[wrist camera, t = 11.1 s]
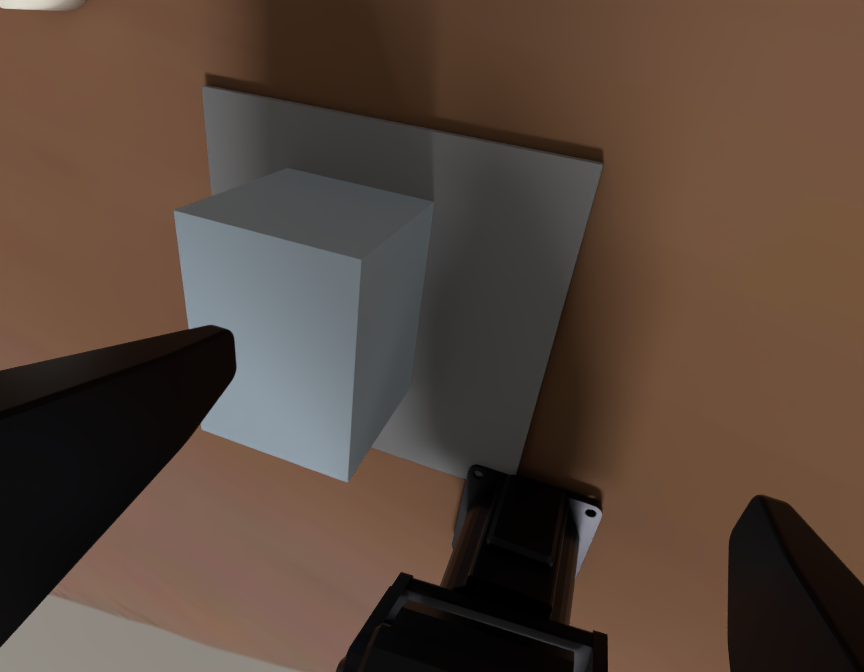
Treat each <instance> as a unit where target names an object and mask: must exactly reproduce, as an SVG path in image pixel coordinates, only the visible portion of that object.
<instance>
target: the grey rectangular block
mask: <svg viewBox="0 0 864 672" xmlns="http://www.w3.org/2000/svg"><path fill="white" fill-rule="evenodd" d="M433 207H434V202H433V201H428V200H424V199H420V198H415V197H411V196H407V195H402V194H398V193H394V192H389V191H385V190H381V189H376V188H372V187H368V186H363V185H359V184H355V183H350V182H346V181H342V180H337V179H333V178H329V177H324V176H320V175H316V174H311V173H307V172H303V171H298V170H294V169H290V168H286V169H283V170H281V171H278V172H275V173H273V174H270V175H267V176H265V177H262V178H259V179H257V180H254V181H251V182H249V183H246V184H243V185H241V186H238V187H235V188H233V189H230V190H227V191H224V192H222V193H219V194H216V195H214V196H211V197H208V198H206V199H203V200H200V201H198V202H195V203H192V204H190V205H187V206H184V207H182V208H179V209H176V210H174V216H175V224H176V232H177V240H178V248H179V256H180V263H181V271H182V279H183V287H184V295H185V303H186V311H187V318H188V326H189V329H192V328H197V327H201V326H206V325H216V326H219V327H222V328H225V329H228V330H230V331H231V332H232V333H233V335H234V339H235V351H236V364H237V369H236V373H235V376H234V378H233V380H232V382H231V383H230V384H229V386H228V387H227V388H226V390H225V391H224V392H223V394H222V395H221V397H220V398H219V399H218V401H217V402H216V403H215V405H214V406H213V407H212V409H211V410H210V411H209V413H208V414H207V416H206V417H205V418H204V420H203V421H202V422H201V428H202V430H204V431H207V432H210V433H212V434H215V435H218V436H221V437H223V438H226V439H229V440H232V441H234V442H237V443H240V444H243V445H245V446H248V447H251V448H254V449H256V450H259V451H262V452H265V453H267V454H270V455H273V456H276V457H278V458H281V459H284V460H287V461H289V462H292V463H295V464H298V465H300V466H303V467H306V468H309V469H311V470H314V471H317V472H320V473H322V474H325V475H328V476H331V477H333V478H336V479H339V480H342V481H344V482H347V483H348V481H349V480H350V478H351V477H352V475H353V474H354V472H355V471H356V469H357V468H358V466H359V465H360V463H361V462H362V460H363V459H364V457H365V456H366V454H367V453H368V451H369V449H370V448H371V446H372V445H373V443H374V442H375V440H376V439H377V437H378V436H379V434H380V433H381V431H382V430H383V428H384V427H385V425H386V424H387V422H388V421H389V419H390V418H391V416H392V415H393V413H394V412H395V410H396V409H397V407H398V406H399V404H400V403H401V401H402V400H403V398H404V397H405V395H406V393H407V392H408V390H409V389H410V384H411V377H412V369H413V361H414V353H415V346H416V338H417V330H418V323H419V315H420V307H421V299H422V292H423V284H424V276H425V269H426V261H427V253H428V246H429V238H430V230H431V222H432V215H433Z"/></svg>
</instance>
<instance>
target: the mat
mask: <svg viewBox="0 0 864 672" xmlns="http://www.w3.org/2000/svg"><path fill="white" fill-rule="evenodd" d="M202 95H203V106H204V117H205V128H206V139H207V150H208V161H209V172H210V183H211V193H212V196H214V195H216V194H219V193H222V192H224V191H227V190H230V189H233V188H235V187H238V186H241V185H243V184H246V183H249V182H251V181H254V180H257V179H259V178H262V177H265V176H267V175H270V174H273V173H275V172H278V171H281V170H283V169H286V168H290V169H294V170H298V171H303V172H307V173H311V174H316V175H320V176H324V177H329V178H333V179H337V180H342V181H346V182H350V183H355V184H359V185H363V186H368V187H372V188H376V189H381V190H385V191H389V192H394V193H398V194H402V195H407V196H411V197H415V198H420V199H424V200H428V201H433V202H434V207H433V215H432V222H431V230H430V238H429V246H428V253H427V261H426V269H425V276H424V284H423V292H422V299H421V307H420V315H419V323H418V330H417V338H416V346H415V353H414V361H413V369H412V377H411V384H410V389H409V390H408V392H407V393H406V395H405V397H404V398H403V400H402V401H401V403H400V404H399V406H398V407H397V409H396V410H395V412H394V413H393V415H392V416H391V418H390V419H389V421H388V422H387V424H386V425H385V427H384V428H383V430H382V431H381V433H380V434H379V436H378V437H377V439H376V440H375V442H374V443H373V445H372V446H371V447H372V448H375V449H377V450H380V451H383V452H386V453H389V454H392V455H395V456H398V457H401V458H404V459H407V460H410V461H413V462H416V463H418V464H421V465H424V466H427V467H430V468H433V469H436V470H439V471H442V472H445V473H448V474H451V475H454V476H457V477H460V478H462V479H465V480H466V478H467V473H468V470H469V468H470V466H472V465H475V464H478V465H482V466H485V467H488V468H491V469H494V470H497V471H500V472H503V473H506V474H509V475H510V474H513V475H516V473H517V469H518V466H519V462H520V459H521V455H522V451H523V448H524V444H525V441H526V437H527V434H528V430H529V427H530V423H531V420H532V416H533V412H534V409H535V405H536V402H537V398H538V395H539V391H540V388H541V384H542V381H543V377H544V373H545V370H546V366H547V363H548V359H549V356H550V352H551V349H552V345H553V341H554V338H555V334H556V331H557V327H558V324H559V320H560V317H561V313H562V310H563V306H564V302H565V299H566V295H567V292H568V288H569V285H570V281H571V278H572V274H573V270H574V267H575V263H576V260H577V256H578V253H579V249H580V246H581V242H582V239H583V235H584V231H585V228H586V224H587V221H588V217H589V214H590V210H591V207H592V203H593V200H594V196H595V192H596V189H597V185H598V182H599V178H600V175H601V171H602V168H603V164H604V163H603V162H598V161H593V160H588V159H583V158H577V157H572V156H567V155H562V154H557V153H552V152H547V151H542V150H537V149H531V148H526V147H521V146H516V145H511V144H506V143H501V142H496V141H491V140H485V139H480V138H475V137H470V136H465V135H460V134H455V133H450V132H445V131H440V130H434V129H429V128H424V127H419V126H414V125H409V124H404V123H399V122H394V121H388V120H383V119H378V118H373V117H368V116H363V115H358V114H353V113H348V112H343V111H337V110H332V109H327V108H322V107H317V106H312V105H307V104H302V103H297V102H291V101H286V100H281V99H276V98H271V97H266V96H261V95H256V94H251V93H245V92H240V91H235V90H230V89H225V88H220V87H215V86H210V85H206V86H202ZM474 474H475V475H477V476H483V475H482V473H481V472H479V471H474Z"/></svg>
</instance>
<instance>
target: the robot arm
mask: <svg viewBox="0 0 864 672" xmlns="http://www.w3.org/2000/svg"><path fill="white" fill-rule="evenodd" d="M236 369H237V364H236V351H235V339H234V335H233V333H232V332H231V331H230V330H228V329H225V328H222V327H219V326H216V325H206V326H201V327H197V328H192V329H187V330H183V331H178V332H174V333H169V334H165V335H160V336H156V337H151V338H147V339H142V340H137V341H133V342H128V343H124V344H119V345H115V346H110V347H106V348H101V349H97V350H92V351H87V352H83V353H78V354H74V355H69V356H65V357H60V358H56V359H51V360H47V361H42V362H37V363H33V364H28V365H24V366H19V367H15V368H10V369H6V370H1V371H0V647H1V646H2V645H3V644H4V643H5V642H6V641H7V640H8V638H9V637H10V636H11V635H12V634H13V633H14V632H15V631H16V630H17V629H18V627H19V626H20V625H21V624H22V623H23V622H24V621H25V620H26V619H27V617H28V616H29V615H30V614H31V613H32V612H33V611H34V610H35V609H36V608H37V607H38V605H39V604H40V603H41V602H42V601H43V600H44V599H45V598H46V597H47V595H48V594H49V593H50V592H51V591H52V590H53V589H54V588H55V587H56V586H57V584H58V583H59V582H60V581H61V580H62V579H63V578H64V577H65V576H66V575H67V573H68V572H69V571H70V570H71V569H72V568H73V567H74V566H75V565H76V564H77V562H78V561H79V560H80V559H81V558H82V557H83V556H84V555H85V554H86V553H87V551H88V550H89V549H90V548H91V547H92V546H93V545H94V544H95V543H96V542H97V540H98V539H99V538H100V537H101V536H102V535H103V534H104V533H105V532H106V531H107V529H108V528H109V527H110V526H111V525H112V524H113V523H114V522H115V521H116V520H117V518H118V517H119V516H120V515H121V514H122V513H123V512H124V511H125V510H126V509H127V507H128V506H129V505H130V504H131V503H132V502H133V501H134V500H135V499H136V498H137V496H138V495H139V494H140V493H141V492H142V491H143V490H144V489H145V488H146V487H147V485H148V484H149V483H150V482H151V481H152V480H153V479H154V478H155V477H156V475H157V474H158V473H159V472H160V471H161V470H162V469H163V468H164V467H165V466H166V464H167V463H168V462H169V461H170V460H171V459H172V458H173V457H174V456H175V455H176V453H177V452H178V451H179V450H180V449H181V448H182V447H183V445H184V444H185V443H186V442H187V441H188V439H189V438H190V437H191V436H192V434H193V433H194V432H195V430H196V429H197V428H198V426H199V425H200V424H201V422H202V421H203V420H204V418H205V417H206V416H207V414H208V413H209V411H210V410H211V409H212V407H213V406H214V405H215V403H216V402H217V401H218V399H219V398H220V397H221V395H222V394H223V392H224V391H225V390H226V388H227V387H228V386H229V384H230V383H231V382H232V380H233V378H234V376H235V373H236ZM474 471H479V472H481V473H482V475H483V476H477V475H475V474H474ZM588 509H592V510H594V511H589V510H588ZM601 517H602V505H601V504H600V503H599V502H598V501H596V500H594V499H591V498H587V497H584V496H581V495H578V494H575V493H572V492H569V491H566V490H563V489H560V488H557V487H554V486H551V485H548V484H545V483H542V482H539V481H536V480H533V479H530V478H527V477H524V476H521V475H518V474H516V475H513V474H510V475H509V474H506V473H503V472H500V471H497V470H494V469H491V468H488V467H485V466H482V465H478V464H475V465H472V466H470V468H469V470H468V473H467V478H466V482H465V487H464V492H463V496H462V501H461V505H460V510H459V515H458V519H457V524H456V529H455V533H454V538H453V542H452V548H453V552H452V554H451V557H450V560H449V563H448V565H447V568H446V571H445V573H444V576H443V579H442V582H441V584H440V586H438V585H435V584H431V583H428V582H425V581H422V580H418V579H415V578H413V575H409V574H406V573H403V572H401V573H400V574H399V576H398V577H397V579H396V580H395V582H394V583H393V585H392V586H390V587H389V588H388V590H387V591H386V593H385V594H384V596H383V597H382V599H381V600H380V602H379V603H378V605H377V606H376V608H375V609H374V611H373V612H372V614H371V615H370V617H369V618H368V620H367V622H366V623H365V625H364V626H363V628H362V629H361V631H360V632H359V634H358V635H357V637H356V638H355V640H354V641H353V643H352V644H351V646H350V648H349V650H348V652H347V655H346V656H345V657H344V658H343V659H342V660H341V661H340V663H339V664H338V667H337V670H336V672H608V636H607V634H604V633H601V632H598V631H594V630H593V632H589V631H586V630H583V629H579V628H576V627H573V626H570V625H569V624H570V616H571V608H572V600H573V592H574V584H575V579H576V577H577V574H578V572H579V570H580V567H581V565H582V562H583V560H584V558H585V555H586V553H587V551H588V548H589V546H590V543H591V541H592V539H593V536H594V534H595V532H596V529H597V527H598V524H599V522H600V520H601ZM728 650H729V662H730V671H731V672H864V585H863V584H862V583H861V582H860V581H859V580H858V578H857V577H856V576H855V575H854V574H853V573H852V572H851V571H850V570H849V569H848V568H847V566H846V565H845V564H844V563H843V562H842V561H841V560H840V559H839V558H838V557H837V556H836V554H835V553H834V552H833V551H832V550H831V549H830V548H829V547H828V546H827V545H826V543H825V542H824V541H823V540H822V539H821V538H820V537H819V536H818V535H817V534H816V533H815V531H814V530H813V529H812V528H811V527H810V526H809V525H808V524H807V523H806V522H805V521H804V519H803V518H802V517H801V516H800V515H799V514H798V513H797V512H796V511H795V510H794V509H793V507H792V506H790V505H789V504H788V503H786V502H784V501H781V500H778V499H774V498H771V497H768V496H765V495H756V496H755V497H753V498H752V499H751V501H750V502H749V504H748V506H747V507H746V509H745V510H744V512H743V514H742V515H741V517H740V518H739V520H738V522H737V523H736V525H735V527H734V528H733V530H732V533H731V535H730V540H729V563H728Z"/></svg>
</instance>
